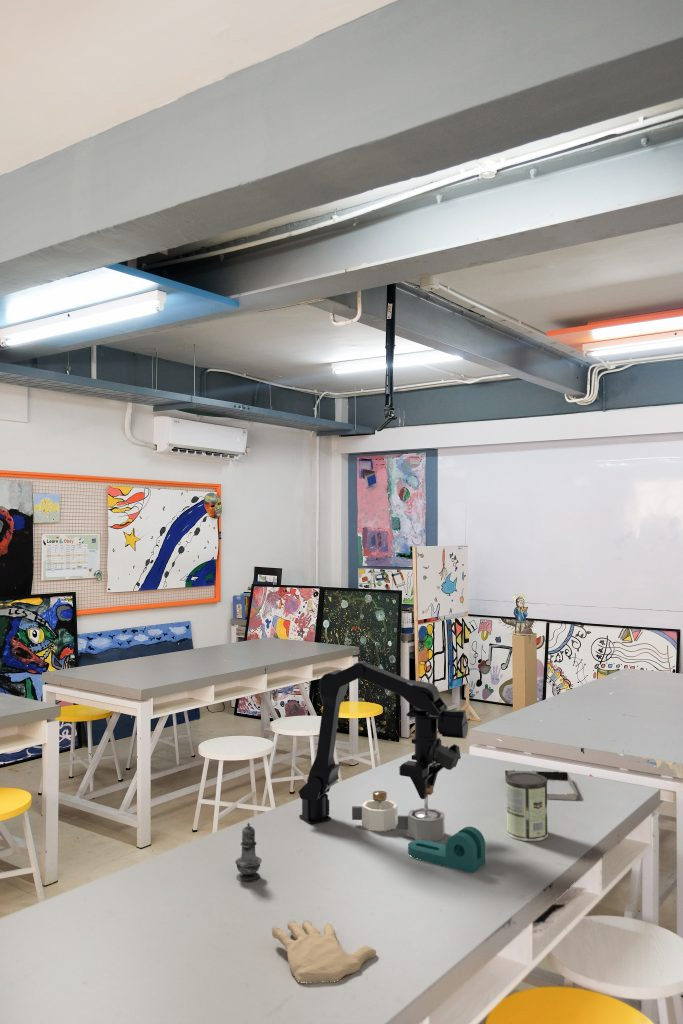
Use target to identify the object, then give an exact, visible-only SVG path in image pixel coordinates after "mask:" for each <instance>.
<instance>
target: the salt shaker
mask: <svg viewBox="0 0 683 1024" xmlns="http://www.w3.org/2000/svg"><path fill="white" fill-rule="evenodd" d="M250 825H251V824H250V823H249V822H248V823H247V824H246V826H245V827H243V828H242V831H241V833H242V834H241V842H240V846H241V855H240V857H238V858H236V859H235V861H234V863H235V864H236V868H237V870H238V872H239V873H237V875H236V880H237V881H239V882H243V883H252V882H257V881H258V880H260V879H261V874H260V873H259V872H258V871H259V869H260V867H261V863H262V861H263V860H262V858H261V857H259V856H257V854H256V845H257V841H255V840H256V831H255V828H254V827H252V826H250Z"/></svg>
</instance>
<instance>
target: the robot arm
mask: <svg viewBox="0 0 683 1024" xmlns="http://www.w3.org/2000/svg"><path fill="white" fill-rule="evenodd" d="M358 679H360V680H364V681H366V682H368V683H371V684H372V685H375V686H377V687H380V688H382V689H385V690H387V691H389V692H392V693H394V694H397V695H399V696H400V697H401V698H403V699H404V701H407V703H408V704H411V705H412V707H411V709H410V710H409V711H408V712H407V713H406V717H410V718H414V737H413V738H412V739H411V744H414V754H412V755H411V760H408V761H405V762H403V763H402V764H400V765H399V767H398V768H399V770H398V772H399V773H398V774H399V776H403V777H408V778H410V780H411V782H412V784H413V785H414V787H415V790H416V792H417V794H418V797H419V798H420V800H424V799H425V796H426V788H427V784H432V785H433V789H434V786H435V784H436V781H437V776H438V774H439V772H441V770H442V769H446V770H448V771H451V770H453V768H456V767H457V765H458V761H459V760H461V758H462V757H461V752H460V750H461V749H460V746H459V745H457V744H456V743H454V744H452V745H450V746H448V745H446V746H444V745H442V740H441V738H440V737H438V733H439V735H441V736H442V737H444V738H453V739H454V738H455V739H464V740H465V739H467V736H468V732H469V730H468V729H469V721H468V717H467V716H466V710H464V709H459V710H455V709H448V706H447V705H446V703H445V702H444V700H443V699H442V698H441V696H440V691H439V688H438V686H437V685H435V684H433V683H432V682H431V683H430V682H426V681H421V680H411V679H407V678H405V677H402V676H400V675H397V674H394V673H393V672H390V671H387V670H385V669H383V668H380V667H378V666H376V665H373V664H370V663H369V662H367V661H366V660H361V661H358V662H356V663H354V664H353V665H351V666H349V667H347V668H345V669H343V670H342V669H335V670H332V671H330V672H327V673H325V674H323V676H321V678H320V679H319V696H320V699H321V703H322V709H321V718H320V725H319V731H318V734H319V735H318V741H317V749H316V756H315V758H314V760H313V763H312V765H311V767H310V770H309V773H308V776H307V780H306V783H305V784H304V785H303V786H302V787H301V788H300V789H298V795H299V797H300V799H301V808H302V809H301V814H299V815H298V817H299V818H300V819H302V820H304V821H305V822H307V823H308V824H310V825H313V824H317V823H323V822H326V821H331V820H332V817H331V816H330V799H329V795H328V793H329V792H330V790H331V788H332V787H333V786H334V785H335V784H336V782H337V781H338V780H339V778H340V777H339V770H340V767H341V764H339V763H336V762H335V759H334V755H335V748H336V739H337V730H338V724H339V718H340V709H341V704H342V702H343V700H344V698H345V696H346V694H347V690H348V688H349V684H350V683H351V682H353V681H356V680H358ZM431 795H432V794H428V796H431Z"/></svg>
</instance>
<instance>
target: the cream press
mask: <svg viewBox="0 0 683 1024" xmlns="http://www.w3.org/2000/svg"><path fill="white" fill-rule="evenodd" d="M398 808H399V807H398V803H396V802H394V801H392V800H390V799H387V800H385V801H381V810H378V801H375V800H373V799H370V800H364V802H363V804H361V805H359V806H356V805H355V806H354V805H353V806H351V820H352V821H354V820H355V821H361V827H363V828H364V829H366V830H368V831H370V830H372V831H373V832H382V831H384V832H388V831H392V830H391V829H393V830H395V829H396V828H397V827H398V824H397V823H398V811H399V809H398ZM394 828H395V829H394ZM387 830H388V831H387ZM372 831H371V832H372Z"/></svg>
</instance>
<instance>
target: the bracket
mask: <svg viewBox="0 0 683 1024" xmlns="http://www.w3.org/2000/svg"><path fill="white" fill-rule="evenodd" d="M407 854H409V855H411V856H412V857H414V858H418V859H421V860H420V861H422V860H424V861H423V862H426V861H428V862H427V863H430V862H431V863H430V864H435V865H439V866H442V867H443V866H444V867H447V868H451V869H455V870H459V871H463V872H466V873H471V874H474V873H475V872H476V871H477V870H478V869H480V868H481V867H483V866H484V865H485V864H486V841H485V837H484V835H483V834H482V832H481V830H479V829H477V828H476V827H473V826H465V827H463V828H462V829H460V830H459V831H458V832H456V833H454V834H453V835H452V836H450V837H449V838H448V839H447V841H446V844H443V843H440V842H437V841H433V842H431V841H427V840H411V841H410V842H409V843H408V845H407ZM409 855H408V856H409ZM412 857H411V858H412ZM414 858H413V859H414ZM418 859H417V860H418Z"/></svg>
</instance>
